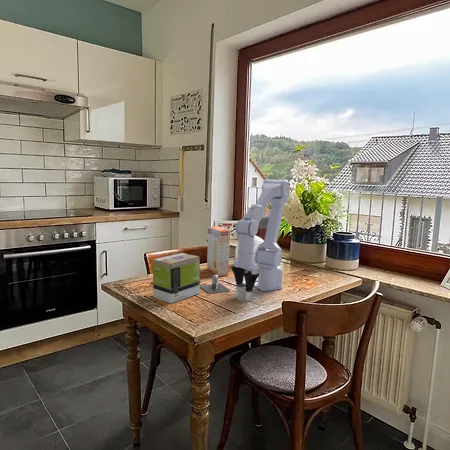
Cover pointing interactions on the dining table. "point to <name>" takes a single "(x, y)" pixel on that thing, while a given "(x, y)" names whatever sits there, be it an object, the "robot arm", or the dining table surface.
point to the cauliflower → (256, 243)
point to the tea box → (176, 277)
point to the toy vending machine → (262, 227)
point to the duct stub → (214, 286)
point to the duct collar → (242, 293)
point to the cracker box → (218, 250)
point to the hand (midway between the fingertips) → (244, 288)
